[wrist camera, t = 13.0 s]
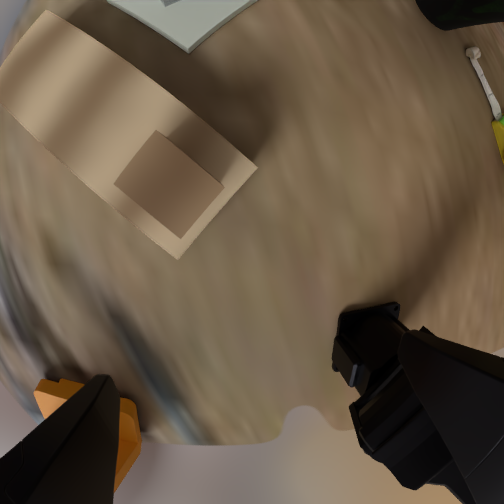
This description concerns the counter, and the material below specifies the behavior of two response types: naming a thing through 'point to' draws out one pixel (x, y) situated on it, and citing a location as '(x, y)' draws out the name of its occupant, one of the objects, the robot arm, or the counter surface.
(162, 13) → the sage mat
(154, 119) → the body
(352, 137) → the counter surface
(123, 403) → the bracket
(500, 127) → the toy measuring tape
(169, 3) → the lever cap
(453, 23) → the cup
